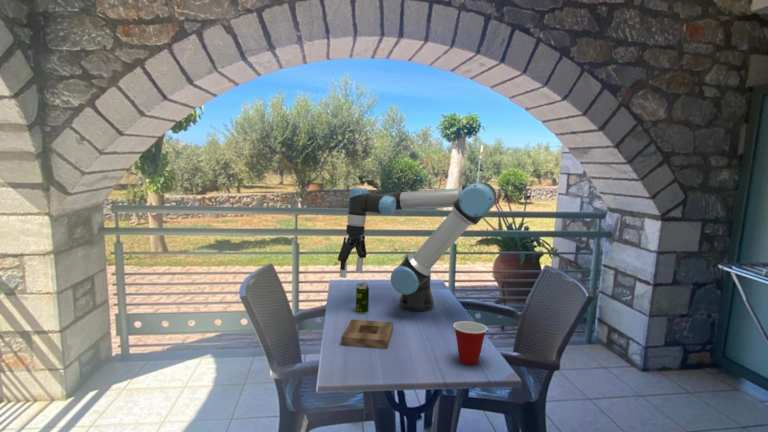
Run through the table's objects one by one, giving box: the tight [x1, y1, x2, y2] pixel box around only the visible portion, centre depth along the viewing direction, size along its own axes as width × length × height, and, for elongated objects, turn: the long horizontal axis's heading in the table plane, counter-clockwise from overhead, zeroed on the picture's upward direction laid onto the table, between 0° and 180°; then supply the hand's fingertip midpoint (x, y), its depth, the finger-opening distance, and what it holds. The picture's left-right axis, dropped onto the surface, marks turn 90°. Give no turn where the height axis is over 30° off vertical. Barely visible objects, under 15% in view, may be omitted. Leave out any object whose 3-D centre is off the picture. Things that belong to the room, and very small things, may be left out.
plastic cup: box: [453, 320, 488, 366], centre depth 133 cm, size 11×11×12 cm
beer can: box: [355, 282, 370, 315], centre depth 175 cm, size 5×5×12 cm
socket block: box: [340, 319, 394, 350], centre depth 151 cm, size 16×16×3 cm
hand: (351, 274), depth 176 cm, fingers open, 13 cm apart
